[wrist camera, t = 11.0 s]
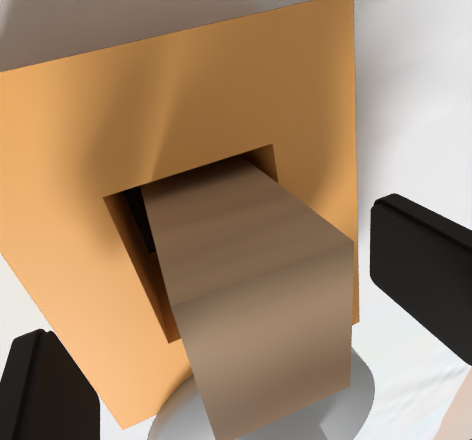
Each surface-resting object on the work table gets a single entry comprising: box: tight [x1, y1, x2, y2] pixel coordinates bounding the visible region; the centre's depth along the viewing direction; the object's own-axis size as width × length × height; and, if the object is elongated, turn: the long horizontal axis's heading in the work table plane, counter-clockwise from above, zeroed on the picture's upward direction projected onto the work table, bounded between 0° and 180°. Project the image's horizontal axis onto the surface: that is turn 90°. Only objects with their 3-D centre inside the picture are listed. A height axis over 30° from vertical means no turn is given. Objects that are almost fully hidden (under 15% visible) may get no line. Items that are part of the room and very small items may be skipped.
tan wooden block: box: [140, 154, 354, 440], centre depth 13 cm, size 5×4×12 cm
